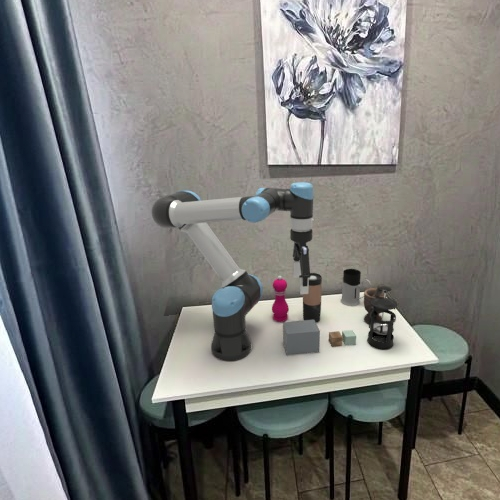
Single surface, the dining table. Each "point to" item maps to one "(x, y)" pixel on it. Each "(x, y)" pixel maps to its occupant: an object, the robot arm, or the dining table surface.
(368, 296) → the mortar and pestle
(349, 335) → the sage block
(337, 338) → the walnut block
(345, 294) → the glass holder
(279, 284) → the pepper mill
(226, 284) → the robot arm
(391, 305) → the french press
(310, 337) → the grey rectangular block
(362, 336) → the dining table surface
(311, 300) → the travel mug
